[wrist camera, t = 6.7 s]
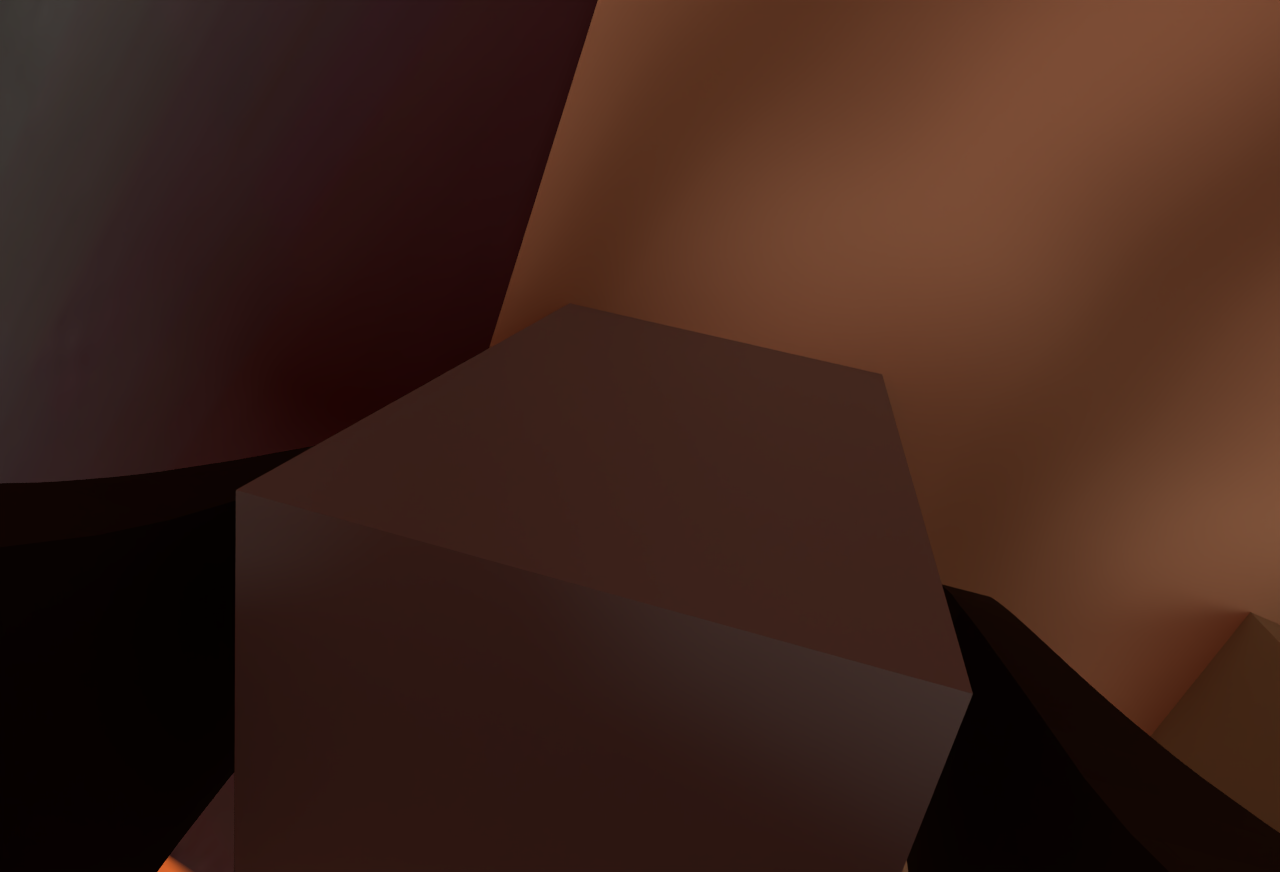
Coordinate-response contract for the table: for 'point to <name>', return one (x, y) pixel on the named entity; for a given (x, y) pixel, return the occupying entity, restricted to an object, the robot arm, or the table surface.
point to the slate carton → (595, 620)
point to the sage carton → (1235, 720)
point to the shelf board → (974, 274)
